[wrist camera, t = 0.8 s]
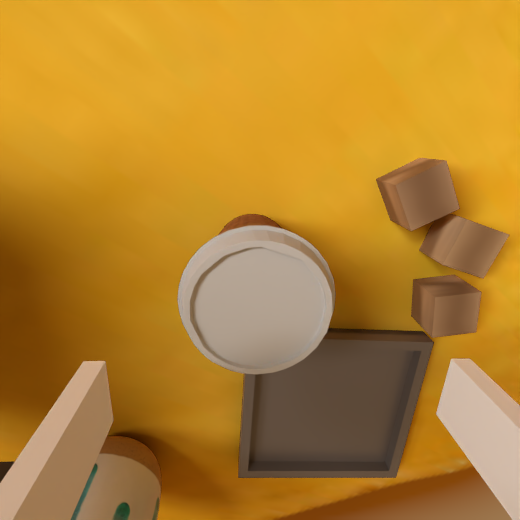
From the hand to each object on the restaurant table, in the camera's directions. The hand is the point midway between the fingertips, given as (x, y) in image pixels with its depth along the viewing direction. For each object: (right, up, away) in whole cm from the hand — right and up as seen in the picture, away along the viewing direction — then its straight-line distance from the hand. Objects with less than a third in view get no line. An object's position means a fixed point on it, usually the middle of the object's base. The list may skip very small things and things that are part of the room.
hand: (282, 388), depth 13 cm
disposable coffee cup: (-2, +6, +18) cm, 19 cm away
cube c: (+12, +11, +17) cm, 23 cm away
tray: (+6, -10, +24) cm, 27 cm away
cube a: (+16, +1, +20) cm, 26 cm away
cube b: (+17, +7, +18) cm, 26 cm away
